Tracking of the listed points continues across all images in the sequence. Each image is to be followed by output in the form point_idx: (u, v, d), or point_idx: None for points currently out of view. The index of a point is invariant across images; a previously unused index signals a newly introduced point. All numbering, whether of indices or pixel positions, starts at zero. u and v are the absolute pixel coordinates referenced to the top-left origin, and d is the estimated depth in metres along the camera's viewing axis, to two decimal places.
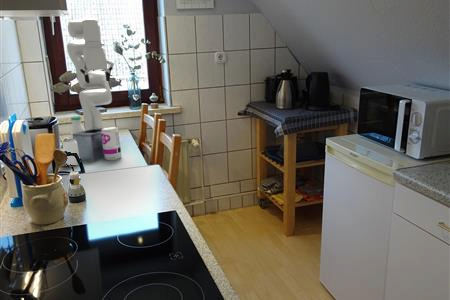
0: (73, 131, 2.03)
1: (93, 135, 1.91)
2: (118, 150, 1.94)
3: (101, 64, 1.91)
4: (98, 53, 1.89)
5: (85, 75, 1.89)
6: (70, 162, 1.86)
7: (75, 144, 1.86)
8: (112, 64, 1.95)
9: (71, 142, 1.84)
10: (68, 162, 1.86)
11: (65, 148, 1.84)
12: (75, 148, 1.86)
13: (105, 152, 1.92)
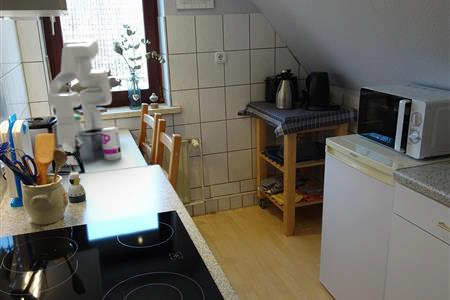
0: None
1: (93, 135, 1.91)
2: (118, 150, 1.94)
3: None
4: None
5: (78, 151, 1.86)
6: (70, 162, 1.86)
7: None
8: None
9: None
10: (68, 162, 1.86)
11: (65, 148, 1.84)
12: None
13: (105, 152, 1.92)
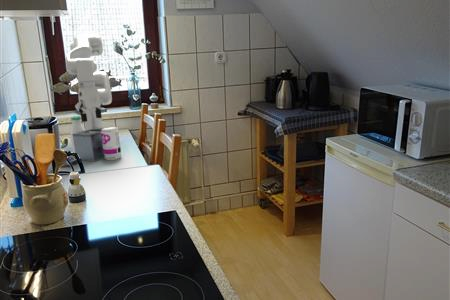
0: (73, 131, 2.03)
1: (93, 135, 1.91)
2: (118, 150, 1.94)
3: None
4: None
5: None
6: None
7: None
8: None
9: None
10: None
11: None
12: None
13: (105, 152, 1.92)
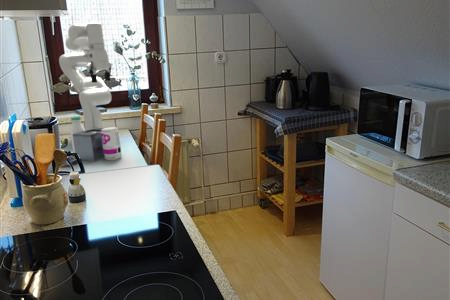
0: (73, 131, 2.03)
1: (93, 135, 1.91)
2: (118, 150, 1.94)
3: None
4: None
5: None
6: None
7: None
8: None
9: None
10: None
11: None
12: None
13: (105, 152, 1.92)
